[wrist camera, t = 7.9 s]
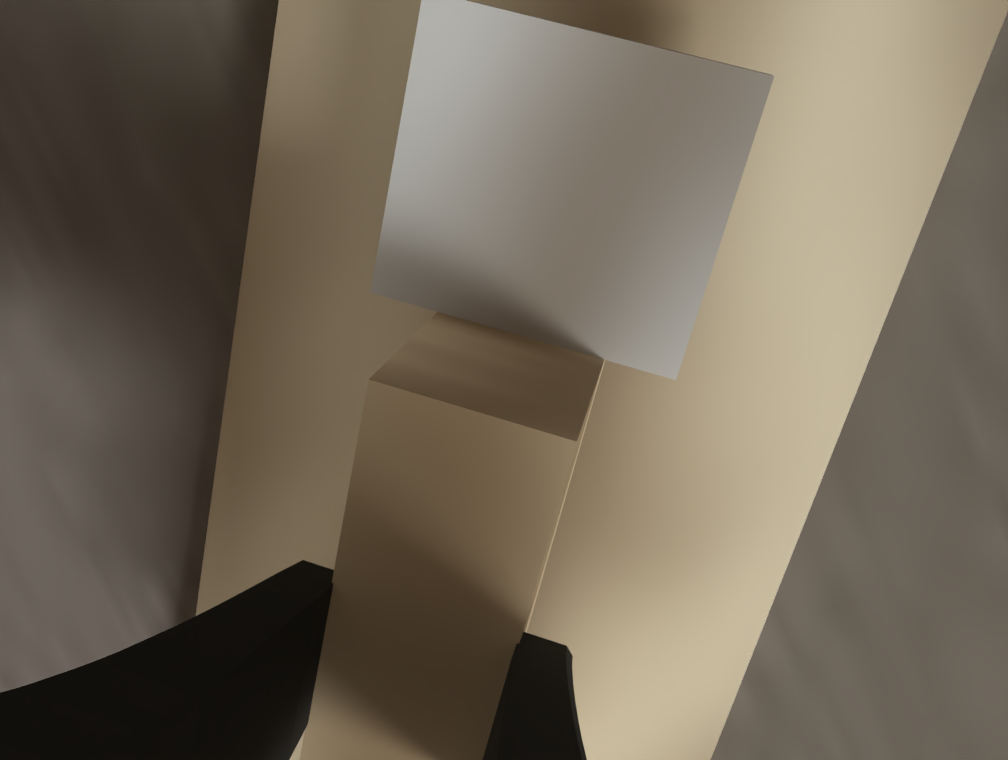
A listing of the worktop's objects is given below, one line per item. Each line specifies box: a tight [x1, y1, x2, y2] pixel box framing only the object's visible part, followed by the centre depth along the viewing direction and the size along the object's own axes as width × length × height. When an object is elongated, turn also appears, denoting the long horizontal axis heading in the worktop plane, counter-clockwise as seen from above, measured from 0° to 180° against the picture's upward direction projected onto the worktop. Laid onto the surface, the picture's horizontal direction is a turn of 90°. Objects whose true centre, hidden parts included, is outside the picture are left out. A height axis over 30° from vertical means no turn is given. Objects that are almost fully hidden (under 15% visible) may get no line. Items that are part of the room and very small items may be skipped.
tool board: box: [196, 0, 1008, 760], centre depth 17 cm, size 10×22×1 cm, turn 167°
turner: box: [300, 0, 774, 760], centre depth 13 cm, size 4×14×4 cm, turn 167°
